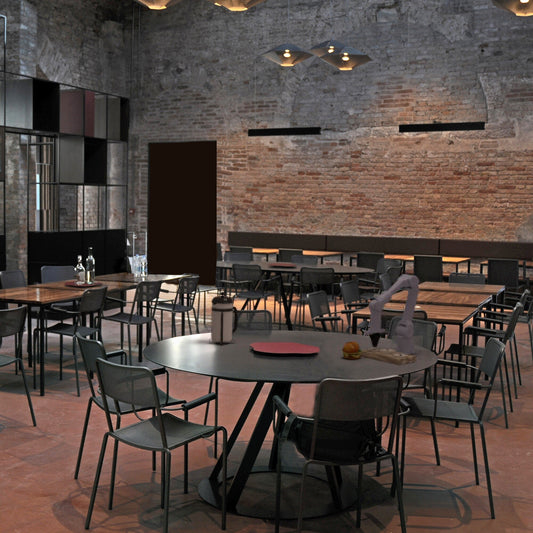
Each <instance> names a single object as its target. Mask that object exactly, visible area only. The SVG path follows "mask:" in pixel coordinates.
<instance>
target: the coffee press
mask: <svg viewBox="0 0 533 533" xmlns="http://www.w3.org/2000/svg"><path fill="white" fill-rule="evenodd" d="M233 304H234V300H233V298H232V297H230V296H227V295H225V292H224V291H221V292H220V295H217V296H214V297H213V298H212V300H211V307H210V308H211V313H210V315H211V317H210V318H211V319H210V320H211V321H210V322H211V330H210V339H209V340H208V344H211V343H213V342H215V343H219V344H220V346H223V345H224V344H223V343H228V342H230V343H231V344H233V342H235V340H234V339H233V334H234V333H236V331H237V330H238V323H239V322H238V319H239V314H238V309H237V307H236V306H233ZM233 318H234V319H233ZM233 321H234V322H233ZM233 323H234V324H233Z"/></svg>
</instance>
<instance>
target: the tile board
mask: <svg viewBox="0 0 533 533" xmlns="http://www.w3.org/2000/svg"><path fill="white" fill-rule="evenodd" d="M371 348H372V347H371ZM371 348H369V349H371ZM375 348H376V349H382V348H380V347H375ZM367 349H368V348H365V349H361V350H362V351H361V357H363V358H366V359H367V358H368V359H371V360H375V361H380V362H385V363H389V364H393V365H397V366H402V365H406V363H407V364H410V363H409V362H412V363H415V362H414V361H416V362H417V356H416V355H413V354H404V353H399V352H396V351H395V354H404V355H409V357H404V358H400V357H395V356H392V355H394V354H391V355H386V354H381V353H379V352H372V351H368V350H367ZM401 364H402V365H401Z"/></svg>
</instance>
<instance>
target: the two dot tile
mask: <svg viewBox="0 0 533 533" xmlns="http://www.w3.org/2000/svg"><path fill="white" fill-rule="evenodd" d="M395 352H396V349H390V348H381V350H379V353H381V354H386V355H391V354H395Z"/></svg>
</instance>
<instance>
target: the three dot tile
mask: <svg viewBox="0 0 533 533" xmlns="http://www.w3.org/2000/svg"><path fill="white" fill-rule="evenodd" d="M409 355H410V354H409ZM409 355H404V354H394V355H392V356H395V357H400V358H404V357H409Z"/></svg>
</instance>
